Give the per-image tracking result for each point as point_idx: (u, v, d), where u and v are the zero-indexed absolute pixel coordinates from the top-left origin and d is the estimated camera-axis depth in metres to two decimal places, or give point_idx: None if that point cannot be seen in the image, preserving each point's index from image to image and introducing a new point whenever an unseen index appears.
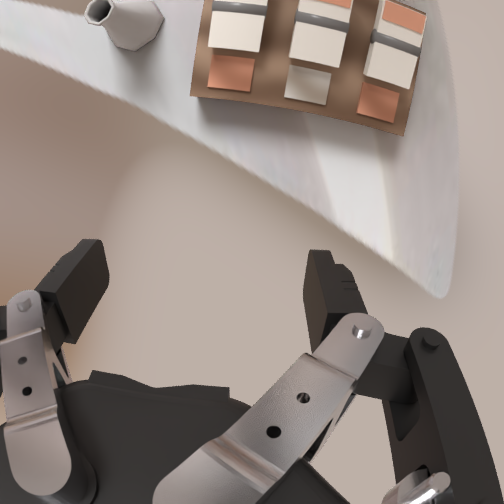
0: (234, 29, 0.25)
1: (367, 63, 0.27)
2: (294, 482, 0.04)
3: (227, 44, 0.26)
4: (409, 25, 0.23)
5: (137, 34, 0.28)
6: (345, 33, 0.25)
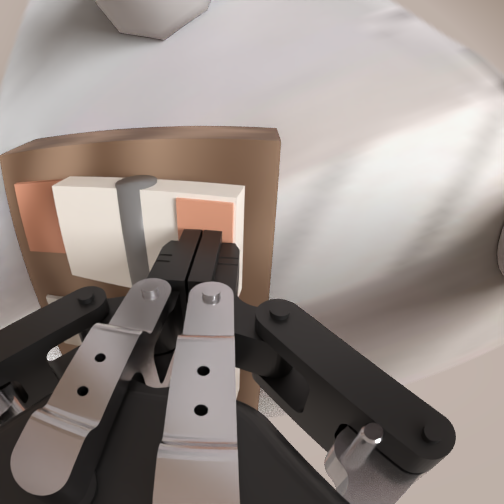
0: (91, 235, 0.14)
1: None
2: (246, 442, 0.05)
3: (64, 222, 0.14)
4: None
5: (105, 5, 0.11)
6: None
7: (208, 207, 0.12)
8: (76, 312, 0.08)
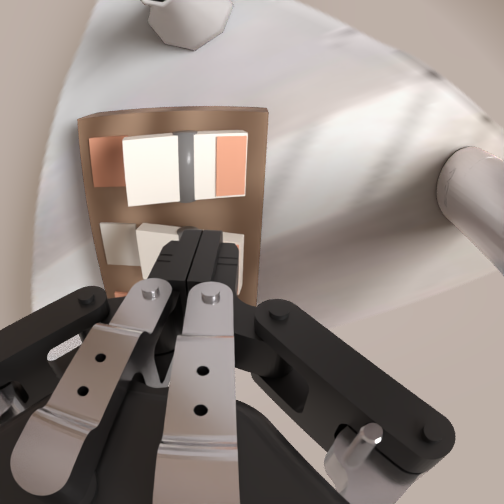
0: (153, 169, 0.22)
1: None
2: (246, 442, 0.05)
3: (130, 165, 0.21)
4: None
5: (160, 26, 0.20)
6: None
7: (234, 139, 0.22)
8: (77, 312, 0.08)
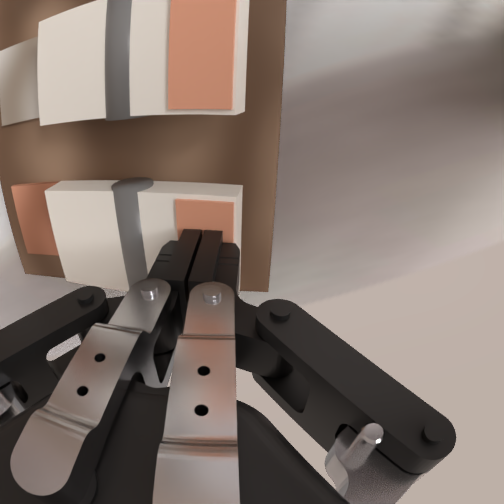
0: None
1: (73, 184, 0.13)
2: (246, 442, 0.05)
3: None
4: None
5: None
6: (104, 115, 0.10)
7: None
8: (76, 312, 0.08)
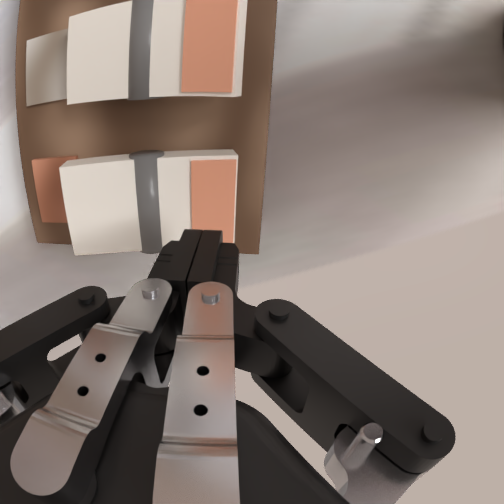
0: None
1: (85, 160, 0.14)
2: (246, 442, 0.05)
3: None
4: (198, 217, 0.17)
5: None
6: (126, 96, 0.13)
7: None
8: (77, 312, 0.08)
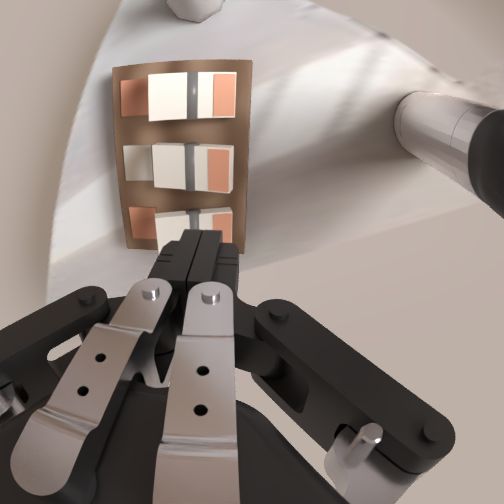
0: (168, 95, 0.29)
1: (165, 214, 0.36)
2: (246, 442, 0.05)
3: (152, 91, 0.28)
4: None
5: (175, 4, 0.27)
6: (184, 188, 0.35)
7: (226, 75, 0.29)
8: (77, 312, 0.08)
